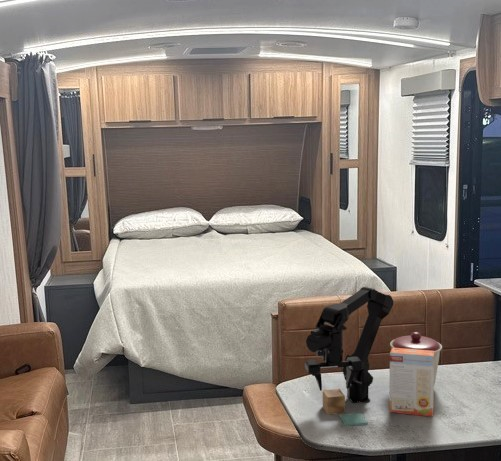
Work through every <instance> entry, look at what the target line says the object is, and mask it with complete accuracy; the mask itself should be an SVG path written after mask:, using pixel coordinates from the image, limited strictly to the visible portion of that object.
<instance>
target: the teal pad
mask: <svg viewBox="0 0 501 461" xmlns="http://www.w3.org/2000/svg"><path fill="white" fill-rule="evenodd" d="M338 416H339V418H340V420H341V421H342V422H343V424H344V426H345V427H353V426H364V425H368V424H369V423H368V421H367V419H366V418H365V417H364V416H363V414H362V413H361V412H358V413H357V412H356V413H342V414H338Z"/></svg>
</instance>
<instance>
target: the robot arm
mask: <svg viewBox="0 0 501 461" xmlns="http://www.w3.org/2000/svg"><path fill="white" fill-rule="evenodd" d="M364 305H366V308H367V317H366V320H365V323H364V326H363V328H362V331H361V333H360V337H359V339H358V342H357V344H356V347H355V350H354V351H353V353H352V354H351V355H350V354H347V355H346V356H345V359H344V360H343V353H344V349H343V331H346V330H347V326H345V325H344V324H346V323H347V321H349V317H350V315H351V314H353V313H354V312H356V311H357V310H358V309H360V308H361V307H363V306H364ZM393 307H394V300H393V297H392V296H391V294H386V293H382V292H380V291H378V290H376V289H375V288H373V287H367V286H362V287H360V288H359V290H358V291H356V292H355V293H353V294H352V295H350V296H349V297H347V298H346V299H345V300H343V301H341V302H339V303H333V304H329V305H327V306H326V307H325V306H324V308H323V309H322V311H321V314H320V316H319V318H318V321H317V323H316V325H315V328H316V329H313V330H311V331H310V334H309V335H308V336H307V337H306V340H305V342H306V346H307V348H308V349H309V351H310V352H312V353H315V356H316V357H321V359H322V361H323V362H319V361H318V360H317V359H309V360H308V359H307V360H305V362H304V369H305V370H306V372H307V373H308V374H310V375H311V376H313V377H315V380H316V383H317V387H318V390H319V391H320V392H323V390H322V389H323V384H322V373H321V369H322V370H323V369H335V368H342V374H343V378H344V380H345V388H346V389H347V390H346V394H347V396H346V397H347V398H348V399H349V400H350V401H351V403H353V404H354V403H355V404H356V403H365V402H371V399H370V398H369V387H370V386H371V385H372V384H373V381H374V377H373V375H372V374H371V373H370V372H369V370H370V363H369V357H370V353H371V351H372V348H373V344H374V343H375V339H376V337H377V334H378V331H379V329H380V326H381V323H382V321H383V320H384V318H386V317H387V316H388V315H389V314H390V312H391V310H392V308H393Z"/></svg>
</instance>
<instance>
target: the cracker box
mask: <svg viewBox="0 0 501 461" xmlns="http://www.w3.org/2000/svg"><path fill="white" fill-rule="evenodd" d="M390 349H391V350H390V352H389V405H388V406H389V407H388V408H389V412H390V413H397V414H406V415H415V416H416V415H417V416H425V417H433V415H434V404H435V403H434V401H435V400H434V396H435V395H434V394H435V393H434V392H435V385H434V351H429V350H417V349H404V348H392V347H391V348H390Z"/></svg>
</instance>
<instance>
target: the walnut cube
mask: <svg viewBox="0 0 501 461" xmlns="http://www.w3.org/2000/svg"><path fill="white" fill-rule="evenodd" d="M322 408H323V409H324V411H325V413H326V414H327V415H336V414H338V415H339V414H346V396H345V394H344V393H343V391H342V390H341V388H336V389H335V388H333V389H325V390H324V389H323V390H322Z"/></svg>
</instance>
